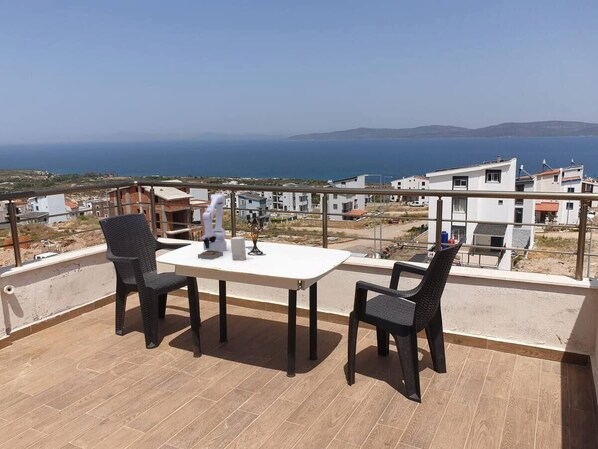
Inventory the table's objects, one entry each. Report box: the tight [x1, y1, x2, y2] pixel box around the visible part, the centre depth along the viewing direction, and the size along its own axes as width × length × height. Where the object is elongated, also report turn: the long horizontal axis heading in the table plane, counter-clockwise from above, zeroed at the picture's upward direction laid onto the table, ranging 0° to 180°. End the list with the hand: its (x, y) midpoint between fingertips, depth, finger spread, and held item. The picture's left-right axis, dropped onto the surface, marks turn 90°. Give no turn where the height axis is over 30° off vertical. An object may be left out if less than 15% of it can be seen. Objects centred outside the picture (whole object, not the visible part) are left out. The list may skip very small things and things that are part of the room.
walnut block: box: [201, 250, 218, 256], centre depth 312 cm, size 8×8×4 cm
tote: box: [197, 251, 224, 261], centre depth 313 cm, size 13×13×4 cm
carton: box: [202, 242, 216, 251], centre depth 312 cm, size 5×7×5 cm
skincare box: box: [230, 236, 247, 261], centre depth 305 cm, size 8×7×16 cm
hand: (210, 247), depth 312 cm, fingers closed on carton, 5 cm apart
